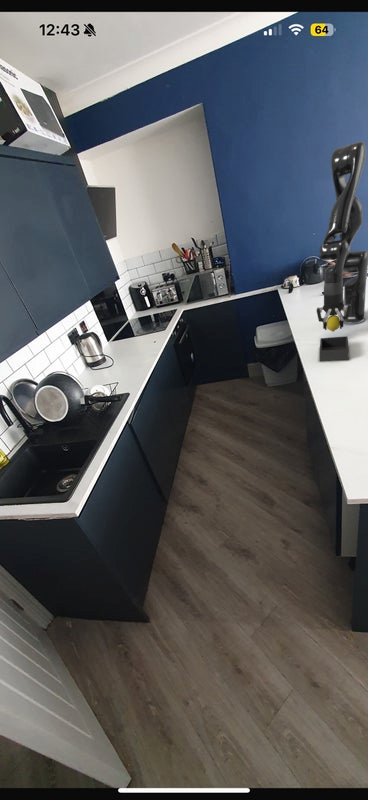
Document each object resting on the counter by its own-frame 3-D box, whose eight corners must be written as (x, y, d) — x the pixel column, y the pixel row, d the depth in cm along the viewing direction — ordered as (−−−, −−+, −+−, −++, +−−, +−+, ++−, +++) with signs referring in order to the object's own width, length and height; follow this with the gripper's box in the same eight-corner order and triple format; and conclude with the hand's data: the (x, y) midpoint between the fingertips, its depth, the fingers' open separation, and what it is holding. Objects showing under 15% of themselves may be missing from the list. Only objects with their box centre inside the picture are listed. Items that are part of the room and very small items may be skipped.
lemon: (340, 329, 142) (341, 312, 138) (338, 333, 138) (338, 316, 134) (327, 329, 145) (327, 312, 141) (325, 334, 142) (325, 317, 137)
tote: (320, 347, 143) (320, 338, 140) (347, 346, 138) (347, 336, 136) (319, 361, 133) (319, 351, 131) (348, 360, 128) (348, 349, 126)
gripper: (351, 286, 132) (350, 324, 141) (315, 291, 138) (316, 327, 147) (352, 291, 127) (351, 330, 135) (314, 296, 133) (315, 333, 141)
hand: (333, 328), depth 141 cm, fingers closed on lemon, 5 cm apart
